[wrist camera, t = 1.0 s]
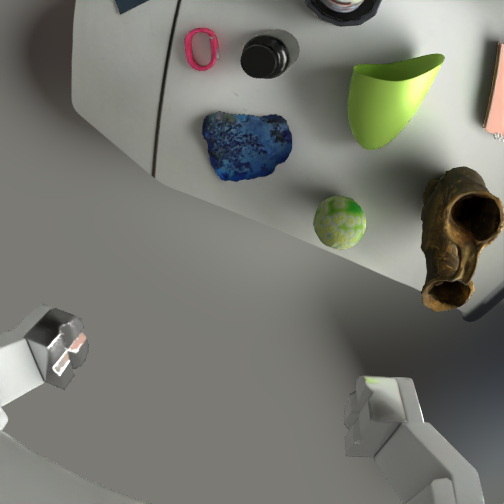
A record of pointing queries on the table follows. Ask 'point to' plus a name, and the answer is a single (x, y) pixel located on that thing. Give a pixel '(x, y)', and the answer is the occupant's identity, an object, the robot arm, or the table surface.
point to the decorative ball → (339, 222)
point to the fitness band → (213, 48)
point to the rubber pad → (128, 4)
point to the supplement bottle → (269, 54)
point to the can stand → (311, 4)
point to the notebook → (496, 98)
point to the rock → (246, 144)
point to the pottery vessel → (456, 235)
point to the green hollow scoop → (388, 97)
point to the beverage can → (342, 5)
